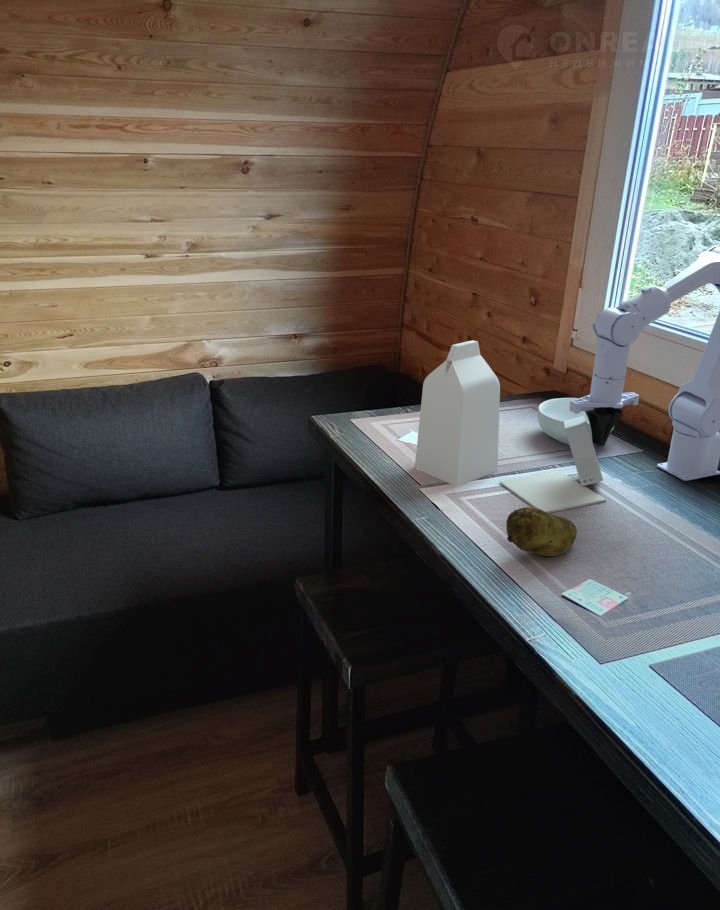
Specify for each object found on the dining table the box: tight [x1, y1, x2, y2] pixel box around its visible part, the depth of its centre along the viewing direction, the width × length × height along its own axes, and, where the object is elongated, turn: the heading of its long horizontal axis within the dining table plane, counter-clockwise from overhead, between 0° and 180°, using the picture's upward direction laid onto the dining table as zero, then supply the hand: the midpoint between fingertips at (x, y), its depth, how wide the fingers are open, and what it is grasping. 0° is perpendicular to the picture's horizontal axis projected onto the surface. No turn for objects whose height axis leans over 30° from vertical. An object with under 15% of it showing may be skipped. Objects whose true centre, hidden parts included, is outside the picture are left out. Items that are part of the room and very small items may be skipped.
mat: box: [499, 470, 607, 514], centre depth 147 cm, size 14×14×1 cm
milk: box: [414, 340, 501, 488], centre depth 151 cm, size 12×12×26 cm
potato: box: [505, 506, 578, 557], centre depth 124 cm, size 8×13×8 cm, turn 98°
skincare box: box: [564, 416, 604, 487], centre depth 149 cm, size 6×4×12 cm
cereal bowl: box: [537, 397, 615, 446], centre depth 171 cm, size 17×17×7 cm
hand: (598, 443), depth 147 cm, fingers closed
